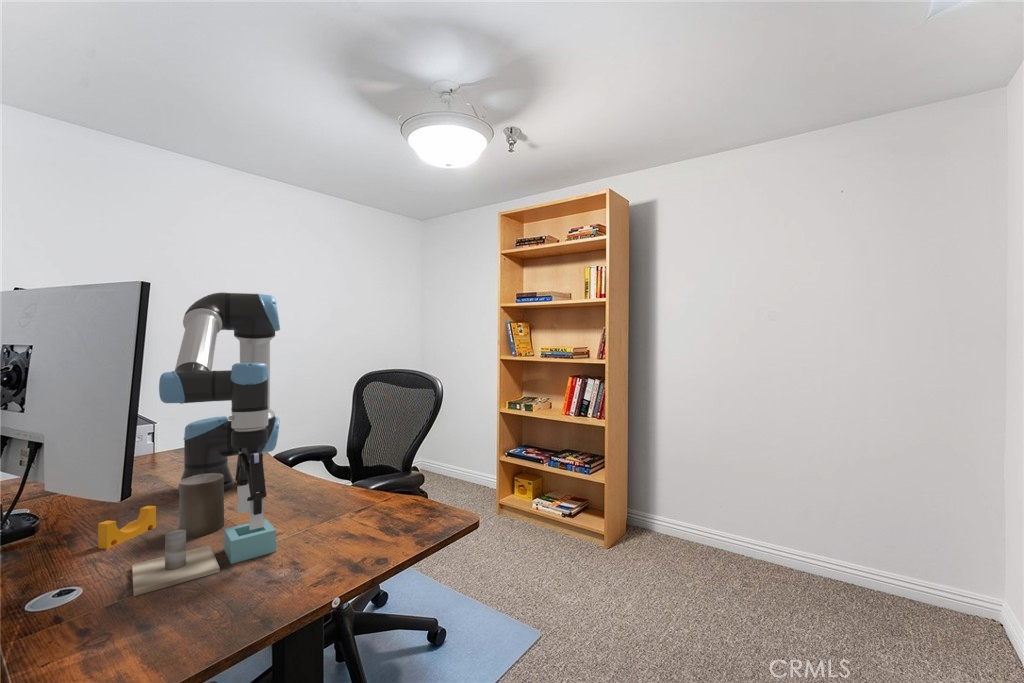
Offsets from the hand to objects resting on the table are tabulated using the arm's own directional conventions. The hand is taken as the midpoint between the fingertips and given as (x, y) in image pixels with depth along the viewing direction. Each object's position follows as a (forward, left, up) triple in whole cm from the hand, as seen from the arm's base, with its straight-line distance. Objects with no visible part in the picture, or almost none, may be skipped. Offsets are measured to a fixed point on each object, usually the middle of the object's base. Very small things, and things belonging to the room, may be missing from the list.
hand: (249, 519), depth 105 cm
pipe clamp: (-28, -22, -8) cm, 36 cm away
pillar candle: (-21, -7, -8) cm, 24 cm away
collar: (0, 0, -7) cm, 7 cm away
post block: (0, -14, -7) cm, 16 cm away
